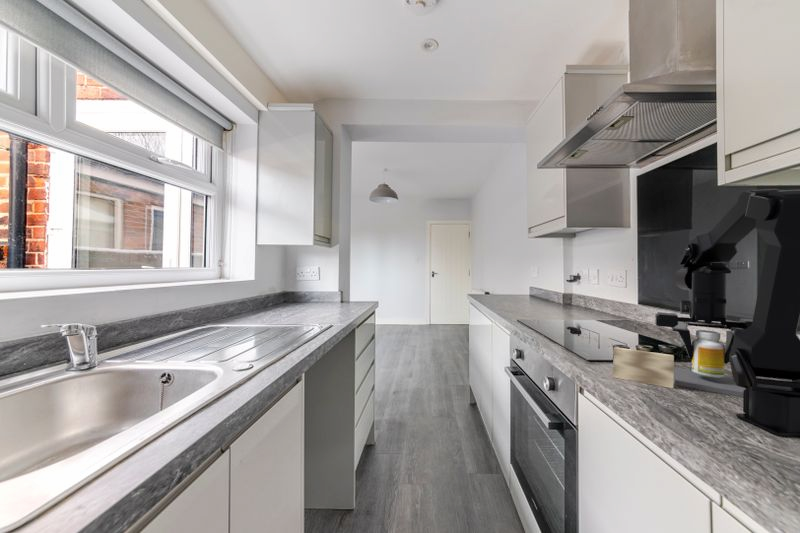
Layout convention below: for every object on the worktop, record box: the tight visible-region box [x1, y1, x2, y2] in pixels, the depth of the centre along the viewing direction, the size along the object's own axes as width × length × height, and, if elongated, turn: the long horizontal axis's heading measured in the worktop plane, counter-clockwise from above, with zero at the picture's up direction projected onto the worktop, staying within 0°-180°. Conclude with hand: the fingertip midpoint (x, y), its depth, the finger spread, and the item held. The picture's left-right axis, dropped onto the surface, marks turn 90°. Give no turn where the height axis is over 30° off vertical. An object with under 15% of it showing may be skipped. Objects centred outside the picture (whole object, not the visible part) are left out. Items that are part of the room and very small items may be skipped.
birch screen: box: [612, 346, 675, 389], centre depth 73 cm, size 11×2×7 cm, turn 53°
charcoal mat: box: [673, 367, 746, 398], centre depth 72 cm, size 12×12×1 cm
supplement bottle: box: [691, 329, 725, 377], centre depth 72 cm, size 5×5×10 cm
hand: (707, 360), depth 72 cm, fingers closed on supplement bottle, 5 cm apart
